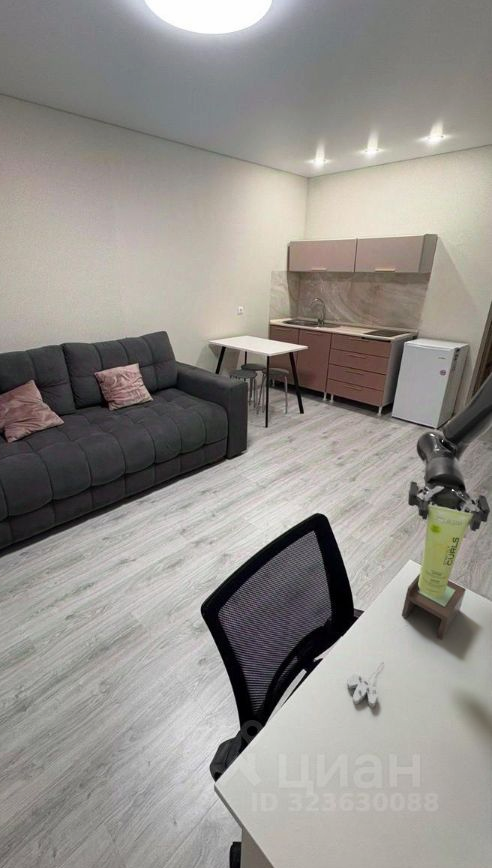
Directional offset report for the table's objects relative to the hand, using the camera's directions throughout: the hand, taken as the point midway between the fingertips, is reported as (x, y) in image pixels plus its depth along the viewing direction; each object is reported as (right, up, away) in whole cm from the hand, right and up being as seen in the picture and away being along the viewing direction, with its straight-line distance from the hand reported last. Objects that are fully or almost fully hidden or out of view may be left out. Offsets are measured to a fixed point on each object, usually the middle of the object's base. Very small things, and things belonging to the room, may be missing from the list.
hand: (449, 521), depth 75 cm
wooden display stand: (+8, -28, +22) cm, 36 cm away
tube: (+1, -16, +8) cm, 18 cm away
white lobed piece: (-13, -34, +6) cm, 37 cm away
